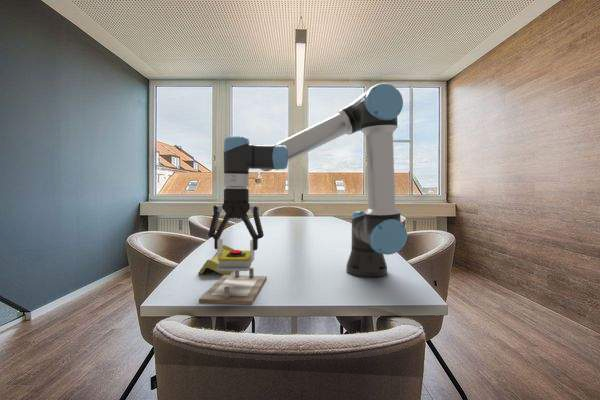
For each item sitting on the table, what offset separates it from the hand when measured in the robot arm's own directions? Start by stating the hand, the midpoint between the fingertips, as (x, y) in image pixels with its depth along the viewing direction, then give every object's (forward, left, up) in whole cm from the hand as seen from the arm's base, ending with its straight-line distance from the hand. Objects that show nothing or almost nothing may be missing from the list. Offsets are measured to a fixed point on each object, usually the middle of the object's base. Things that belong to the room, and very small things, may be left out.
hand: (236, 260), depth 98 cm
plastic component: (+12, -23, -10) cm, 28 cm away
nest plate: (0, 0, -9) cm, 9 cm away
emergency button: (0, 0, -2) cm, 2 cm away
